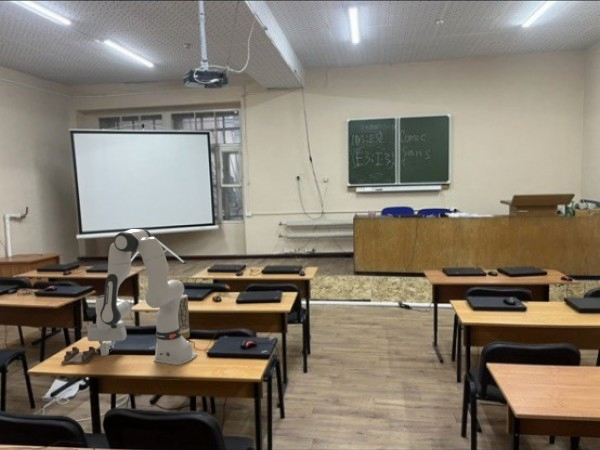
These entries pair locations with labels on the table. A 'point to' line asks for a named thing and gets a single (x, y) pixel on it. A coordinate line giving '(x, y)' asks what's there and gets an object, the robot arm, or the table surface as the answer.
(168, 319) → the robot arm
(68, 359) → the drying rack
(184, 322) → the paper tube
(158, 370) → the table surface
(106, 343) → the grey strip
